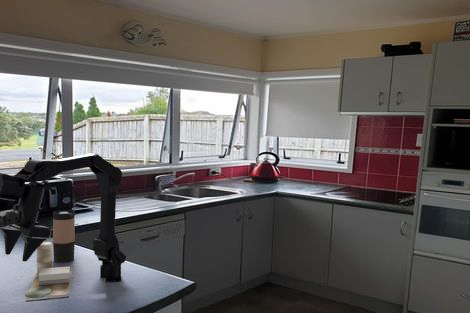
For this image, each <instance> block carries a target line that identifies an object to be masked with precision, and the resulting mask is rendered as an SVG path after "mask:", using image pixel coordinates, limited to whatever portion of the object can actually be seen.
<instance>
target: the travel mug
mask: <svg viewBox="0 0 470 313" xmlns="http://www.w3.org/2000/svg"><path fill="white" fill-rule="evenodd" d="M52 216H53V217H52V227H53V228H52V253H53V263H57V264H67V263H71V262H73V261H74V260H75V245H76V244H75V243H76V242H75V241H76V239H75V233H76V232H75V230H76V228H75V227H76V226H75V210H73V209H59V210H55V211H53V214H52Z"/></svg>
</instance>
